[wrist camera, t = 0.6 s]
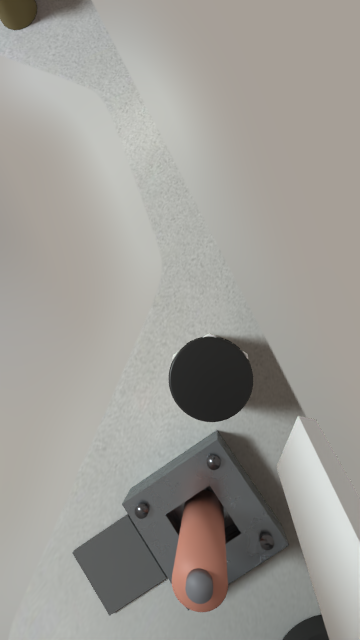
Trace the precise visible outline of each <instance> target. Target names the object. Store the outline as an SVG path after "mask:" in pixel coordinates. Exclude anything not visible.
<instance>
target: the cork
mask: <svg viewBox="0 0 360 640" xmlns="http://www.w3.org/2000/svg"><path fill="white" fill-rule="evenodd" d="M36 13H37V5H36V2H35V0H0V19H1V21H2V23H3V24H4V26H6V27H7V28H9V29H13V30H20V29H23V28H25V27H27V26H28V25H29V24H31V22H32V21H33V20H34V18H35V16H36Z"/></svg>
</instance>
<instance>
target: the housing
mask: <svg viewBox="0 0 360 640" xmlns="http://www.w3.org/2000/svg"><path fill="white" fill-rule="evenodd" d="M202 490H207V491H210V492H212V493H214V494H215V495H216V496H217V497H218V499H219V500H220V502H221V503H222V505H223V510H224V527H225V543H226V560H227V577H228V584H230V583H231V582H233V581H234V580H236V579H237V578H239V577H241V576H242V575H244V574H245V573H247V572H248V571H250V570H251V569H253V568H254V567H256V566H257V565H259V564H261V563H262V562H264V561H265V560H267V559H268V558H270V557H271V556H273V555H274V554H276V553H278V552H279V551H281V550H282V549H284V548H285V547H287V546H288V545H289V544H288V542H287V539H286V536H285V533H284V531H283V528H282V525H281V524H280V522H279V521H278V519H277V518H276V516H275V515H274V513H273V512H272V510H271V509H270V507H269V506H268V505H267V503H266V502H265V500H264V499H263V497H262V496H261V494H260V493H259V491H258V490H257V488H256V487H255V485H254V484H253V482H252V481H251V480H250V478H249V477H248V475H247V474H246V472H245V471H244V469H243V468H242V466H241V465H240V463H239V462H238V460H237V459H236V457H235V456H234V455H233V453H232V452H231V450H230V449H229V447H228V446H227V444H226V443H225V441H224V440H223V438H222V437H221V435H220V434H219V432H218V431H217V430H216V431H215V432H213V433H212V434H210V435H209V436H208V437H206V438H205V439H203V440H202V441H200V442H199V443H197V444H196V445H194V446H193V447H191V448H190V449H188V450H187V451H185V452H184V453H183V454H181V455H180V456H178V457H177V458H175V459H174V460H172V461H171V462H169V463H168V464H166V465H165V466H163V467H162V468H160V469H159V470H157V471H156V472H155V473H153V474H152V475H150V476H149V477H147V478H146V479H144V480H143V481H141V482H140V483H138V484H137V485H135V486H134V487H132V488H131V489H130V491H129V493H128V494H127V496H126V498H125V500H124V502H123V503H122V505H123V506H124V508H125V510H126V511H127V513H128V515H129V516H130V518H131V519H132V521H133V523H134V524H135V526H136V527H137V529H138V531H139V532H140V534H141V535H142V537H143V539H144V540H145V542H146V543H147V545H148V547H149V548H150V550H151V551H152V553H153V555H154V556H155V558H156V560H157V561H158V563H159V564H160V566H161V568H162V569H163V571H164V572H165V574H166V576H167V577H168V579H169V580H170V582H171V584H172V573H173V568H174V562H175V556H176V550H177V545H178V539H179V533H180V528H181V522H182V516H183V511H184V505H185V502H186V501H187V500H188V499H190V498H191V497H193V496H194V495H196V494H197V493H199V492H200V491H202ZM186 608H187V607H186ZM187 609H188V610H190V609H189V608H187Z"/></svg>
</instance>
